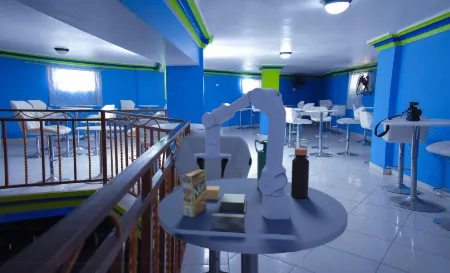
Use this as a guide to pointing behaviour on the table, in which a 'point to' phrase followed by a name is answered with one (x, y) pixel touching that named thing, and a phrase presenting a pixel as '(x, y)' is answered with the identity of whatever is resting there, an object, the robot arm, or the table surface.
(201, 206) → the candy box
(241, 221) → the press bed
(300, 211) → the table surface
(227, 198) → the grey flat block
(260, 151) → the pitcher
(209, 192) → the tan cube
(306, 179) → the bottle
